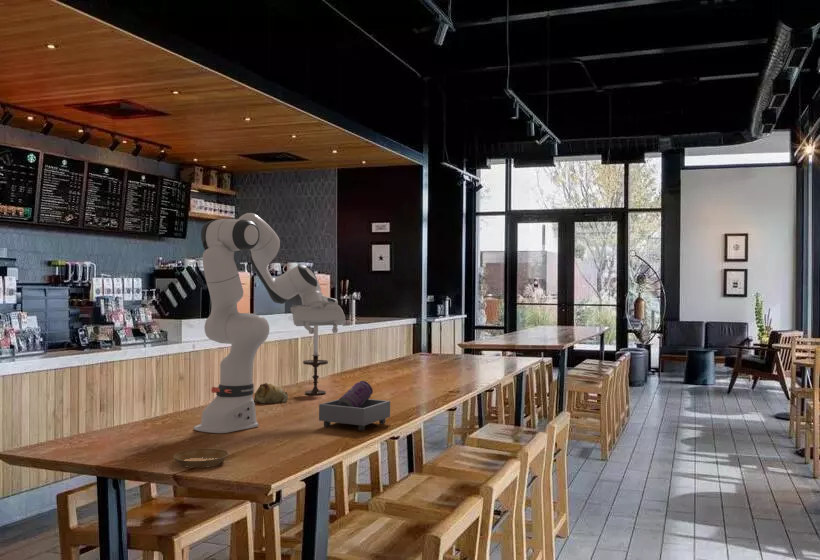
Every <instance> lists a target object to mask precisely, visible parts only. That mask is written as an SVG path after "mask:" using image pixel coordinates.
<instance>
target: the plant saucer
mask: <svg viewBox="0 0 820 560" xmlns="http://www.w3.org/2000/svg"><path fill="white" fill-rule="evenodd" d="M228 456H229V451H227V450H224V449H222V448H221V449H220V448H213V447H212V448H209V447H208V448H194V449H186V450H182V451H179V452H177V453H175V454H174V455H173V458H174V460H175V461H176V462H177V463H178V464H179V465H180V466H182V467H184V466H188V467H205V468H208V467H207V466H212V467H214V466H213V465H216V466H218V465H221V462H222V463H223V461H225V460H226V458H227V457H228ZM202 457H203V459H206V458H207V459H209V458H211V459H212V458H214V459H213V460H206V461H184V460H185V459H190V458H202ZM215 458H217V459H215ZM217 464H218V465H217ZM188 467H187V468H188Z"/></svg>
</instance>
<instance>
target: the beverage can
mask: <svg viewBox="0 0 820 560" xmlns="http://www.w3.org/2000/svg"><path fill="white" fill-rule="evenodd" d="M373 393H374V392H373V387H372V385H371V383H369V382H367V381H366V380H360V381H359V382H356V383H355V384H354V385H353V386H351V388H350V389H348V390H346V392H345V393H344V394H342V396H341V397H340V398H338V399H339V405H340V406H346V407H356V408H360V407H361V406H362V405H363V404H364V403H365V402H366V401H367V400H368V399H371V396H372V395H373Z"/></svg>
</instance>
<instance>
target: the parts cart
mask: <svg viewBox="0 0 820 560" xmlns="http://www.w3.org/2000/svg"><path fill="white" fill-rule="evenodd" d="M339 399H340V398H338V399H335V400H330V401H327V402H322V403H319V404H318V421H321V422H323V427H324V428H330V426H331V423H336V424H337V423H338V424H343V425H345V424H347V425H354V426H358V429H357V430H358V432H364V431H365V430H366V426H367V425H370V424H373V423H376V422H379V424H380V425H385V424H386V419H388V418H391V400H383V399H372V398H369V399H368V400H367V401H366V402H365V403H364V404H363V405H362V406H361V407H360V408H356V407H346V406H340V405H339Z"/></svg>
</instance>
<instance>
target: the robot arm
mask: <svg viewBox="0 0 820 560" xmlns="http://www.w3.org/2000/svg"><path fill="white" fill-rule="evenodd" d="M200 241H201V244H202V247H203V249H204V251H203V253H202V267H203V272H204V273H203V274H204V278H205V281H206V285H207V289H208V292H209V293H208V294H209V296H210V302H211V310H210V314H209V315H208V317H206V318H207V319H206V320H205V322H204V323H205V324H204V333H205V335H206V337H207V338H208V340H211V341H214V342H215V343H216V342H217V343H219V344H226V345H227V344H228V345H230V344H231V346H230V350H229V353H228V355H226V356H225V357H223V359H222V360H221V361H220V365H219V366H220V367H219V368H220V369H219V374H220V375H219V376H220V377H219V385H218V386H217V387H216V386H212V387H211V390H210V392H211V393H212V394H214V393H215V395H216V396H215V397H214V398H213V400H211V402H210V403H209V404H208V405H207V406H206V407H205V408H204V409H203V410H202V413H201V420H200V421H201V422H200V423H199V424H197V425H194V426H193V430H194V431H198V432H203V433H210V434H212V433H213V434H227V433H231V432H232V433H233V432H237V431H242V430H248V429H252V428H253V429H254V428H257V427H259V422H258V421H257V414H256V413H257V412H256V402H254V394H255V393H254V392H255V384H254V383H253V375H254V374H253V372H254V371H253V370H254V361H255V357H256V354H257V352H258V349H259V348H260V347H261V345H262V344H263V343H264V342H266V340H267V339H268V338H269V334H270V325H269V322H268V320H267V319H266V318H265V317H264V316H261V315H259V314H255V313H248V312H247V313H246V312H245V313H243V312H239V311H238V303H239V302H240V301H241V299H242V298H243V297H244V289H243V285H242V281H241V278H240V274H239V270H238V268H237V267H238V266H237V265H236V262H235V260H234V259H235V257H234V256H235V252H238V251H239V252H240V251H241V252H242V251H243V252H244V251H245V252H246V251H248V250H249V251H250V253H251V254H250V255H249V261H250V264H251V267H252V269H253V270H254V272H255V274H256V275H257V277H258V278H259V280H260V281H261V283H262V285H263V286H264V288H265V289H266V292H267V295H268V296H269V297H270V299H271V300H272V301H273V303H276V304H279V305H280V304H282V305H284V304H285V303H287V302H288V301H289V300H291V299H292V298H294V297H295V296H297V295H299V297H300V298H301V304H299V305H297V304H295V305H292V306H291V307H290V308H289V310H290V313H291V314H292V320H293V325H295V326H296V327H304V328H305V329H306V330H307V331H308V333H309V335H314V326H318V327H320V326H321V327H322V326H323V327H324V326H332V328H331V330H332V333H333V334H337V333H338V331H339V329H338V326H342V325H343V324H344V323H345V322H346V321H345V320H346V315H345V313H344V311H343V309H342V307H341V305H339V301H338V299H336V298H333V297H329V296H326V295H324V294H323V292H322V288H321V285H320V283H319V280H318V279H317V276H316V274H315V272H314V271H313V269H311V267H309V266H307V265H303V264H298V265H296V266H294V267H292V268H290V269H289V270H287V271H285V272H284V273H282V274H280V275H279V276H277V277H273V276H272V275H271V273H270V271H269V269H268V266H269V265H270V263H271V262H272V261H273V260H274V259H275V258H276V257H277V254H278V253H279V251H280V247H281V240H280V237H279V236H278V234H277V232H275V230H274V229H273V228H272V227H271V226H270V225H269V224H268V223H267V222H266V221H265V220H264V219H262V218H261V217H260V216H259V215H257V214H256V213H253V212H247V213H244V214H242V215H241V216H239V217H238V218H237V219H235V218H233V219H232V218H222V219H213V220H210V221H207V222H205V223H204V224H203V226H202V227H201V231H200Z"/></svg>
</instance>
